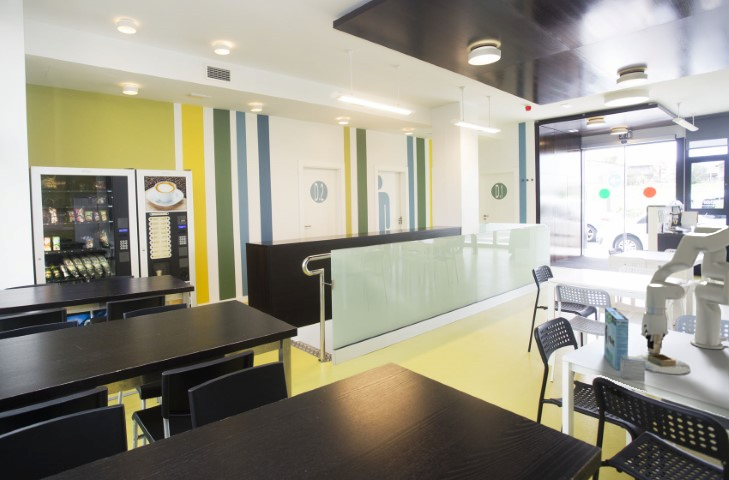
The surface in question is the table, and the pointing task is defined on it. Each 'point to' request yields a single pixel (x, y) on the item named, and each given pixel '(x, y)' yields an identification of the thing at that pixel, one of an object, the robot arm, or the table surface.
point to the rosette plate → (665, 364)
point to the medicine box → (632, 368)
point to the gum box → (615, 336)
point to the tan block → (656, 344)
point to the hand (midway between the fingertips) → (654, 347)
